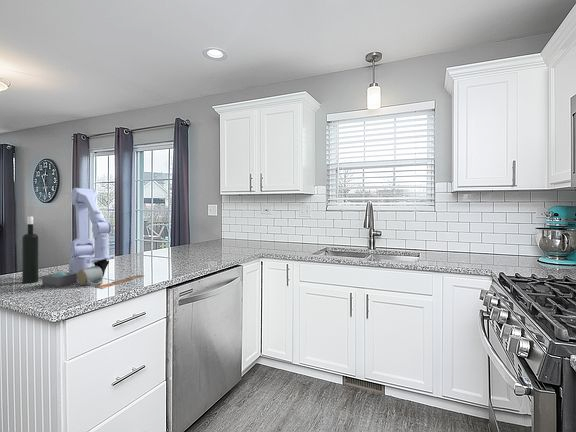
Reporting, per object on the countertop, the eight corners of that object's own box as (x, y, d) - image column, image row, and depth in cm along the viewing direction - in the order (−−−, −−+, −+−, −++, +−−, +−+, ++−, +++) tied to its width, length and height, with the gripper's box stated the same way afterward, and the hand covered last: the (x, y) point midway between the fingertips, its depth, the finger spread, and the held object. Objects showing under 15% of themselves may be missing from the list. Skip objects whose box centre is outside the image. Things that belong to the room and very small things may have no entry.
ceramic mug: (75, 284, 145) (75, 267, 144) (93, 280, 152) (93, 264, 152) (90, 288, 140) (90, 270, 140) (108, 283, 148) (108, 267, 147)
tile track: (95, 287, 141) (95, 287, 141) (137, 275, 167) (137, 274, 167) (102, 288, 140) (102, 287, 140) (144, 276, 166) (144, 275, 166)
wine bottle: (36, 279, 152) (36, 216, 151) (40, 282, 148) (39, 216, 148) (20, 282, 148) (20, 216, 147) (24, 284, 144) (24, 216, 143)
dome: (49, 282, 143) (49, 272, 143) (60, 279, 148) (60, 269, 148) (59, 283, 142) (59, 273, 141) (70, 280, 147) (70, 270, 147)
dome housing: (42, 285, 142) (42, 275, 142) (61, 281, 150) (61, 271, 150) (58, 287, 140) (58, 277, 139) (76, 283, 148) (76, 273, 148)
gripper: (95, 249, 144) (95, 280, 144) (120, 246, 158) (120, 273, 158) (82, 249, 145) (82, 279, 146) (108, 245, 159) (108, 272, 160)
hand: (101, 276), depth 152 cm, fingers closed
